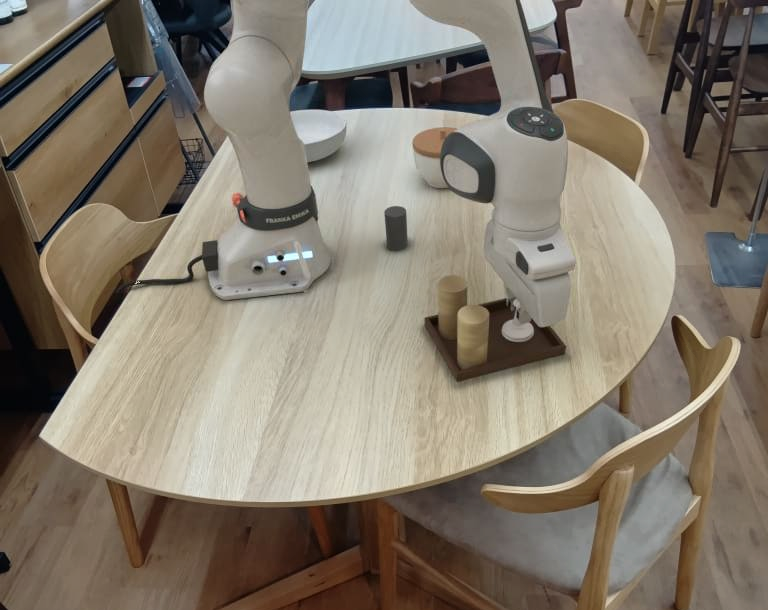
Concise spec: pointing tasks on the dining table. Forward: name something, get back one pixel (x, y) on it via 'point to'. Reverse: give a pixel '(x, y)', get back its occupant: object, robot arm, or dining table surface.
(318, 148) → the serving bowl
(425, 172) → the lidded bowl
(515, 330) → the chess piece
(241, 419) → the dining table surface
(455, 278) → the pale piece
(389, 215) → the grey piece left
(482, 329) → the pale piece
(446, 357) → the tray
